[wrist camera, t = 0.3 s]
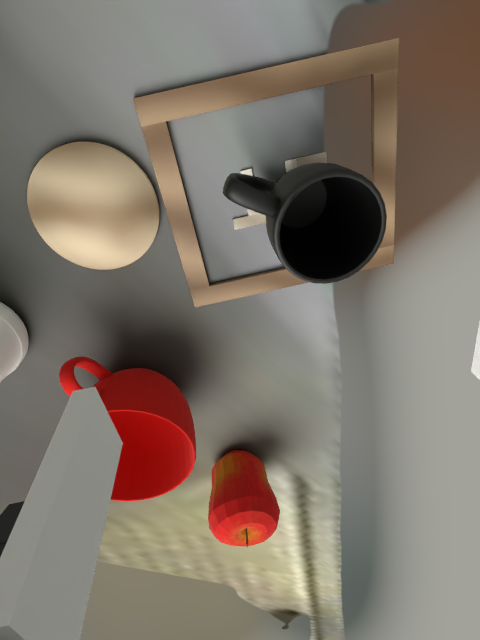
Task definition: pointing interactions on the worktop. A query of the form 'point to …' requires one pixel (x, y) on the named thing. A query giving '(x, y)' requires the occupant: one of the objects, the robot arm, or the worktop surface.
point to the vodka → (11, 341)
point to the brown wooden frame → (267, 84)
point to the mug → (316, 218)
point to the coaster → (93, 205)
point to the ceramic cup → (142, 427)
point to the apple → (241, 501)
